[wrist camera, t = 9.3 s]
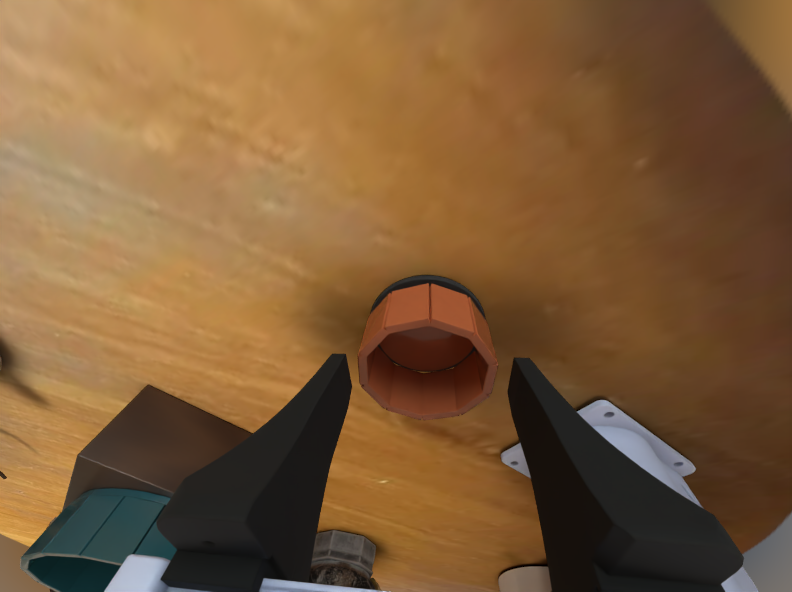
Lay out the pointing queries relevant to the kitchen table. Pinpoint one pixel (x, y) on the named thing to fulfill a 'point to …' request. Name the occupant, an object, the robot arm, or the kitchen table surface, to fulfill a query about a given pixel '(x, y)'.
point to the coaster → (430, 280)
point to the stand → (152, 447)
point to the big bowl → (97, 539)
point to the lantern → (343, 560)
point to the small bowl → (427, 353)
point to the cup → (525, 580)
